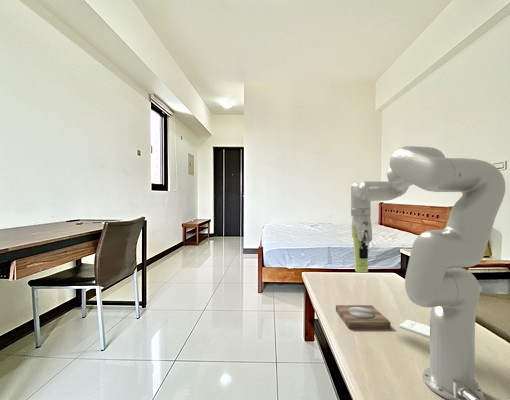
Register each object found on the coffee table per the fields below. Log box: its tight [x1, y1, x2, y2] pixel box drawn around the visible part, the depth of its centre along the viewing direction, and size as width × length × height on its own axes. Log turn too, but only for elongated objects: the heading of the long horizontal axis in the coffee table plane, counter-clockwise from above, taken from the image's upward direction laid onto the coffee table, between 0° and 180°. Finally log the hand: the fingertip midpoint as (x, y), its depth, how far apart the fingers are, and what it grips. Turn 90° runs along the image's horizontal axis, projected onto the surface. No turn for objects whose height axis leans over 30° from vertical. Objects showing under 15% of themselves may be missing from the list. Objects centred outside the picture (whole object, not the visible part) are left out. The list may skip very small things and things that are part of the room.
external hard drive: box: [399, 319, 430, 339], centre depth 98 cm, size 2×8×12 cm
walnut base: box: [335, 304, 391, 330], centre depth 108 cm, size 16×16×3 cm
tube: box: [351, 224, 370, 274], centre depth 107 cm, size 6×5×20 cm
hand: (360, 256), depth 108 cm, fingers closed on tube, 4 cm apart
